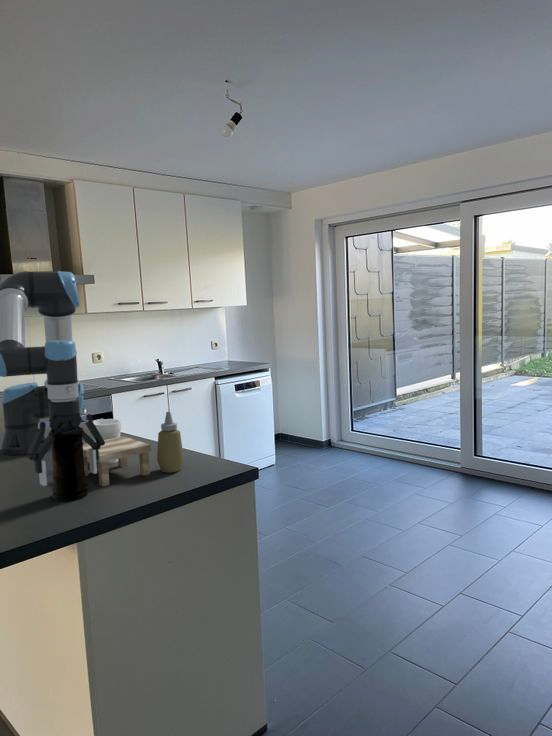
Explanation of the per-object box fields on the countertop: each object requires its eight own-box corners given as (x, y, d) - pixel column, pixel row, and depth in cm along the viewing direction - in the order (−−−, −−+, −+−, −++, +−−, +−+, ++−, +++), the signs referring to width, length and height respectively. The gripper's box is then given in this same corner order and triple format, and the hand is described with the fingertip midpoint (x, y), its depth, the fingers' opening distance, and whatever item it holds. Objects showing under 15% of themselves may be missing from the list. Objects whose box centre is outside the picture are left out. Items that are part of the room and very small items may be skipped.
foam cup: (114, 466, 173) (112, 425, 172) (87, 464, 175) (85, 424, 174) (128, 457, 183) (126, 419, 181) (102, 456, 185) (100, 418, 183)
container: (58, 491, 151) (53, 426, 149) (91, 489, 151) (87, 425, 149) (47, 502, 142) (42, 434, 140) (83, 500, 143) (78, 432, 140)
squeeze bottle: (189, 467, 170) (186, 410, 168) (176, 475, 162) (173, 415, 160) (166, 465, 173) (163, 409, 170) (152, 473, 165) (149, 414, 163)
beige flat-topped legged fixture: (76, 475, 164) (74, 446, 163) (124, 463, 175) (123, 436, 174) (101, 487, 153) (100, 455, 152) (152, 474, 164) (150, 444, 163)
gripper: (19, 408, 132) (26, 493, 135) (114, 394, 150) (119, 470, 152) (8, 404, 138) (15, 486, 140) (101, 391, 155) (106, 465, 157)
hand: (69, 478), depth 146 cm, fingers open, 13 cm apart
